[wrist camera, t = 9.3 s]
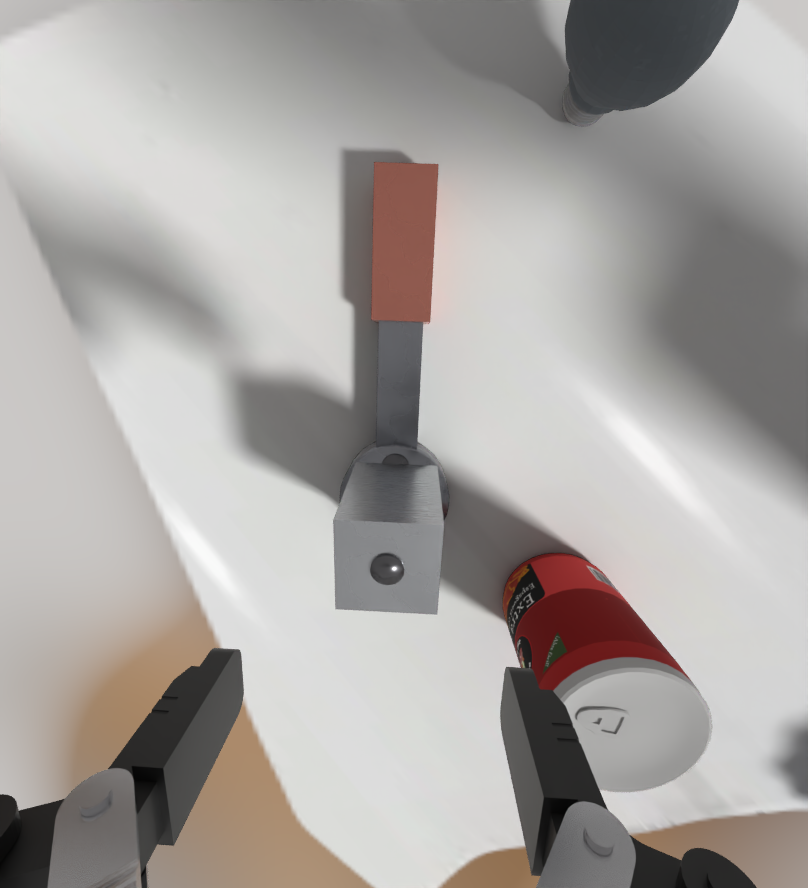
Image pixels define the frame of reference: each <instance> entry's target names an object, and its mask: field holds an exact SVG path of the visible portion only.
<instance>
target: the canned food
mask: <svg viewBox="0 0 808 888" xmlns="http://www.w3.org/2000/svg"><path fill="white" fill-rule="evenodd" d="M503 611H504V616H505V619H506V622H507V625H508V629H509V632H510V635H511V638H512V641H513V644H514V648H515V651H516V654H517V657H518V660H519V663H520V667H521V668H531V669H532V670H533V671H534V674H535V677H536V679H537V682H538V685H539V688H540V689H545V690H553V692H554V693H555V694H556V695H557V696H558V698H559V699H560V700H561V701H562V702H563V703H564V705H565V706H566V708H567V711H568V713H569V716H570V718H571V721H572V723H573V728H575V731H576V733H577V736H578V738H579V743H581V745H582V748H583V750H584V753H585V755H586V758H587V760H588V763H589V765H590V768H591V770H592V773H593V775H594V778H595V780H596V783H597V785H598V788H599V790H604V791H610V792H637V791H645V790H649V789H653V788H656V787H660V786H662V785H665V784H667V783H669V782H671V781H674V780H676V779H677V778H679V777H680V776H682V775H683V774H685V773H686V772H688V771H689V770H690V769H691V768H692V767H693V766H694V765H695V764H696V763H697V762H698V761H699V760H700V758H701V757H702V755H703V754H704V753H705V751H706V749H707V747H708V744H709V742H710V739H711V733H712V718H711V713H710V710H709V708H708V705H707V703H706V701H705V700H704V699H703V697H702V696H701V694H700V692H699V691H698V689H697V688H696V686H695V685H694V684H693V682H692V681H691V680H690V679H689V677H688V676H687V675H686V674H685V672H684V671H683V670H682V669H681V667H680V666H679V664H678V663H677V662H676V661H675V659H674V658H673V657H672V656H671V655H670V653H669V652H668V651H667V650H666V649H665V647H664V646H663V645H662V644H661V642H660V641H659V640H658V639H657V638H656V636H655V635H654V634H653V633H652V632H651V630H650V629H649V628H648V627H647V626H646V624H645V623H644V622H643V621H642V619H641V618H640V617H639V616H638V615H637V613H636V612H635V611H634V610H633V609H632V607H631V606H630V605H629V604H628V602H627V601H626V600H625V599H624V598H623V596H622V595H621V594H620V593H619V592H618V590H617V589H616V588H615V587H614V585H613V584H612V583H611V582H610V581H609V579H608V578H607V577H606V576H605V575H604V573H603V572H602V571H600V570H599V569H598V568H597V567H596V566H594V565H592V564H591V563H589V562H587V561H585V560H583V559H582V558H579V557H576V556H574V555H570V554H564V553H549V554H543V555H539V556H537V557H534V558H531V559H529V560H528V561H526V562H524V563H522V564H521V565H520V566H519V567H518V568H517V569H515V571H514V572H513V573H512V574H511V576H510V577H509V579H508V581H507V583H506V586H505V590H504V595H503Z"/></svg>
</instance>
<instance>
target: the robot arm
mask: <svg viewBox="0 0 808 888" xmlns="http://www.w3.org/2000/svg"><path fill="white" fill-rule="evenodd" d="M243 694H244V688H243V674H242V660H241V652H240V650H238V649H221V648H214V649H212V650H211V651H210V652H209V654H208V655H207V657H206V658H205V660H204V661H203V663H202V664H201V665H200V667H196V666H191V667H190V668H188V669H187V670H186V671H185V672H183V673H182V674H181V675H180V676H178V677H177V678H176V679H175V680H174V681H173V682H172V683H171V685H170V686H169V687H168V689H167V690H166V691H165V693H164V694H163V696H162V699H160V700H159V701H158V702H157V704H156V705H155V706H154V708H153V709H152V712H151V713H149V714H148V716H147V718H146V719H145V720H144V721H143V723H142V724H141V725H140V727H139V728H138V729H137V731H136V732H135V733H134V735H133V736H132V738H131V739H130V740H129V742H128V743H127V744H126V746H125V747H124V748H123V750H122V751H121V753H120V754H119V755H118V756H117V758H116V759H115V761H114V762H113V763H112V765H111V766H110V767H109V768H108V770H104V771H101V772H99V773H97V774H95V775H93V776H91V777H89V778H88V779H86V780H84V781H83V782H82V783H81V784H79V785H78V786H77V787H76V788H75V789H73V790H72V791H71V793H70V794H69V795H68V796H67V797H66V798H65V799H62V800H59V801H56V802H52V803H48V804H44V805H40V806H36V807H32V808H28V809H24V810H20V811H18V807H17V803H16V801H15V799H14V798H13V797H12V796H9V795H3V794H2V795H0V888H149V880H148V868H147V863H148V861H149V859H150V857H151V855H152V853H153V851H154V849H155V847H156V845H157V844H159V845H174V844H175V842H176V840H177V838H178V836H179V834H180V832H181V830H182V828H183V826H184V824H185V822H186V820H187V818H188V816H189V813H190V812H191V809H192V808H193V806H194V804H195V802H196V800H197V798H198V795H199V793H200V791H201V789H202V787H203V785H204V783H205V781H206V779H207V777H208V775H209V773H210V771H211V769H212V767H213V765H214V763H215V761H216V759H217V757H218V755H219V753H220V751H221V749H222V747H223V745H224V743H225V741H226V739H227V737H228V735H229V733H230V731H231V728H232V727H233V724H234V723H235V721H236V718H237V716H238V714H239V712H240V709H241V705H242V701H243ZM500 717H501V730H502V736H503V740H504V745H505V750H506V755H507V760H508V764H509V769H510V774H511V779H512V783H513V788H514V793H515V798H516V803H517V807H518V812H519V817H520V822H521V826H522V831H523V836H524V841H525V846H526V850H527V855H528V860H529V864H530V869H531V874H532V875H535V876H541V877H540V879H539V882H538V884H537V887H536V888H756V886H755V885H754V884H753V882H752V881H751V880H750V879H749V878H748V877H747V876H746V875H745V873H743V872H742V871H741V870H740V869H739V868H738V867H737V866H736V865H734V864H733V863H732V862H730V861H729V860H728V859H726V858H725V857H723V856H721V855H719V854H717V853H715V852H713V851H710V850H707V849H703V848H694V849H691V850H689V851H687V852H686V853H685V854H684V856H683V858H682V861H681V860H679V859H677V858H674V857H672V856H670V855H667V854H665V853H662V852H660V851H658V850H655V849H653V848H651V847H648V846H646V845H644V844H642V843H641V842H639V841H637V840H636V839H634V838H633V837H632V836H630V835H629V833H628V831H627V830H626V828H625V827H624V826H623V824H622V823H621V822H620V821H619V820H618V819H617V818H616V817H615V816H614V815H613V814H612V813H611V812H609V811H608V809H607V807H606V805H605V803H604V800H603V798H602V795H601V793H600V790H599V788H598V785H597V783H596V780H595V778H594V775H593V773H592V770H591V768H590V765H589V763H588V760H587V758H586V755H585V753H584V750H583V748H582V745H581V743H579V738H578V736H577V733H576V731H575V728H573V723H572V721H571V718H570V716H569V713H568V711H567V708H566V706H565V705H564V703H563V702H562V701H561V700H560V699H559V698H558V696H557V695H556V694H555V693H554V692H553V690H545V689H540V688H539V685H538V682H537V679H536V677H535V674H534V671H533V670H532V669H531V668H515V667H506V669H505V674H504V683H503V692H502V701H501V711H500Z"/></svg>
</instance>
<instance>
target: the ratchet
mask: <svg viewBox="0 0 808 888" xmlns="http://www.w3.org/2000/svg"><path fill="white" fill-rule="evenodd" d="M437 181H438V164H417V163H385V162H374V199H373V253H372V307H371V320H373V321H375V322H379V333H378V377H377V421H376V442H375V443H372V444H370V445H369V446H367V447H366V448H364V449H363V450H362V451H361V452H360V453H359V454H358V455H357V456H356V458H355V459H354V460H353V462H352V464H351V466H350V468H349V469H348V471H347V473H346V475H345V477H344V479H343V482H342V485H341V490H340V501H341V499H342V496H343V494H344V491H345V489H346V486H347V484H348V481H349V478H350V476H351V473H352V471H353V468H354V466H355V463H356V462H367V463H389V464H410V465H432V466H437V467H438V476H439V485H440V493H441V502H442V510H443V519H444V520H445V517H446V515H447V511H448V506H449V493H448V487H447V482H446V477H445V474H444V470H443V468H442V466H441V464H440V462H439V461H438V459H437V458H436V457H435V455H434V454H433V453H432V452H431V451H430V450H428V449H427V448H426V447H424V446H423V445H421V444H419V443H417V438H418V417H419V396H420V375H421V355H422V334H423V324H429V323H430V315H431V296H432V277H433V257H434V238H435V219H436V200H437Z"/></svg>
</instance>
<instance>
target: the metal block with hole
mask: <svg viewBox="0 0 808 888" xmlns="http://www.w3.org/2000/svg"><path fill="white" fill-rule="evenodd" d="M333 524H334V565H335V606H336V609H344V610H363V611H381V612H400V613H419V614H437V610H438V597H439V585H440V572H441V559H442V546H443V534H444V519H443V510H442V502H441V493H440V485H439V476H438V467H437V466H432V465H410V464H389V463H367V462H356V463H355V466H354V468H353V471H352V473H351V476H350V478H349V481H348V484H347V486H346V489H345V491H344V494H343V496H342V499H341V501H340V504H339V507H338V509H337V512H336V514H335V517H334V519H333Z"/></svg>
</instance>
